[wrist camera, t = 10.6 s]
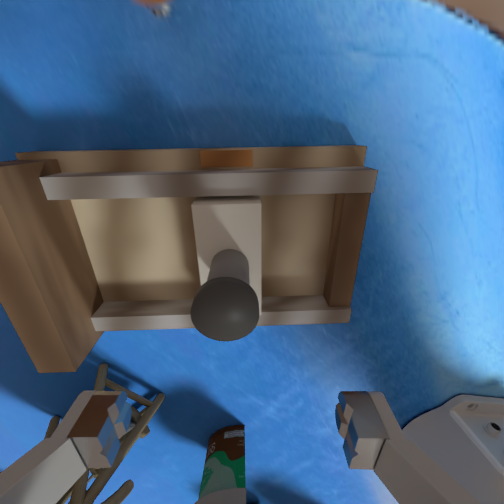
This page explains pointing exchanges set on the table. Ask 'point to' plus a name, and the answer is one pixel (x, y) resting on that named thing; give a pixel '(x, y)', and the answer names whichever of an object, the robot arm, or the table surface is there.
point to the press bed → (169, 238)
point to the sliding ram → (227, 265)
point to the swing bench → (137, 428)
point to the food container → (224, 468)
